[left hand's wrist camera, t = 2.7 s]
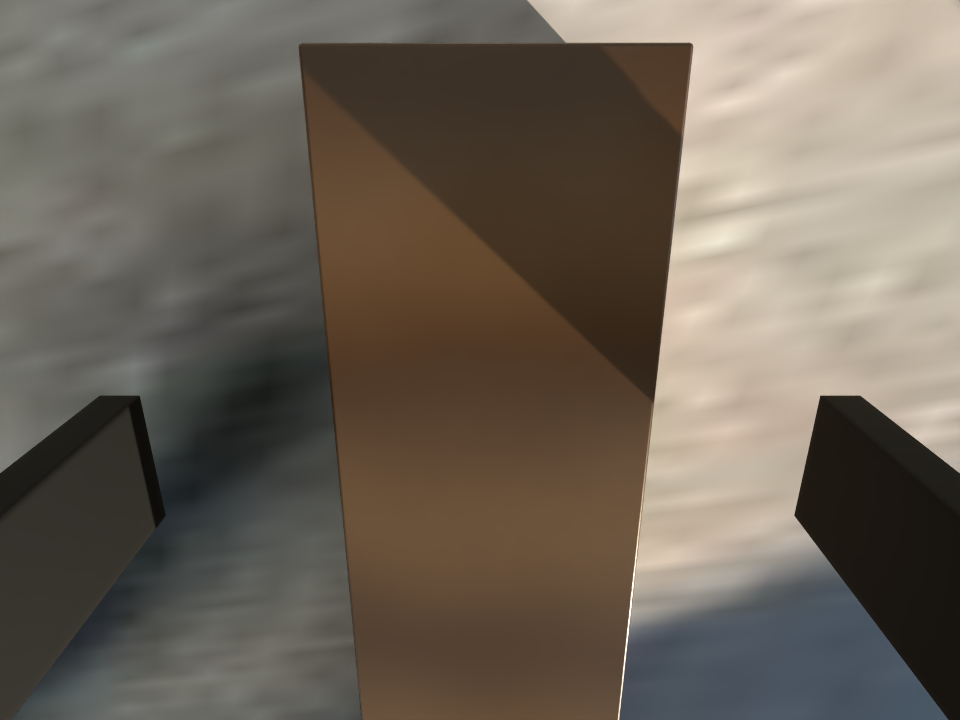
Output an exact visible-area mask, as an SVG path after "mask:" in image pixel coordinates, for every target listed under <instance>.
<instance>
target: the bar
mask: <svg viewBox="0 0 960 720" xmlns="http://www.w3.org/2000/svg"><path fill="white" fill-rule="evenodd" d="M692 54H693V45H692V44H691V43H302V44H300V45H299V56H300V67H301V78H302V88H303V99H304V110H305V120H306V131H307V142H308V152H309V163H310V174H311V184H312V195H313V206H314V216H315V227H316V238H317V248H318V259H319V270H320V281H321V291H322V302H323V313H324V323H325V334H326V345H327V355H328V366H329V377H330V387H331V398H332V409H333V419H334V430H335V441H336V451H337V462H338V473H339V483H340V494H341V505H342V515H343V526H344V537H345V548H346V558H347V569H348V580H349V590H350V601H351V612H352V622H353V633H354V644H355V654H356V665H357V676H358V686H359V697H360V708H361V718H362V720H619V717H620V707H621V698H622V689H623V680H624V671H625V662H626V653H627V644H628V635H629V626H630V617H631V608H632V599H633V589H634V580H635V571H636V562H637V553H638V544H639V535H640V526H641V517H642V508H643V499H644V490H645V481H646V471H647V462H648V453H649V444H650V435H651V426H652V417H653V408H654V399H655V390H656V381H657V372H658V363H659V353H660V344H661V335H662V326H663V317H664V308H665V299H666V290H667V281H668V272H669V263H670V254H671V245H672V235H673V226H674V217H675V208H676V199H677V190H678V181H679V172H680V163H681V154H682V145H683V136H684V127H685V117H686V108H687V99H688V90H689V81H690V72H691V63H692Z"/></svg>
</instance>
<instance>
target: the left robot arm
mask: <svg viewBox="0 0 960 720" xmlns="http://www.w3.org/2000/svg"><path fill="white" fill-rule="evenodd" d="M165 516H166V515H165V510H164V506H163V501H162V497H161V492H160V487H159V483H158V478H157V474H156V469H155V464H154V460H153V455H152V451H151V446H150V441H149V437H148V432H147V428H146V423H145V418H144V414H143V409H142V405H141V400H140V396H99V397H98V398H96V399H95V400H94V401H93V402H91V403H90V404H89V405H87V406H86V407H85V408H84V409H82V410H81V411H80V412H78V413H77V414H76V415H75V416H73V417H72V418H71V419H69V420H68V421H67V422H66V423H64V424H63V425H62V426H60V427H59V428H58V429H57V430H55V431H54V432H53V433H51V434H50V435H49V436H48V437H46V438H45V439H44V440H42V441H41V442H40V443H39V444H37V445H36V446H35V447H34V448H32V449H31V450H30V451H28V452H27V453H26V454H25V455H23V456H22V457H21V458H19V459H18V460H17V461H16V462H14V463H13V464H12V465H10V466H9V467H8V468H7V469H5V470H4V471H3V472H1V473H0V720H12V718H13V717H14V716H15V714H16V713H17V712H18V710H19V709H20V708H21V706H22V705H23V704H24V702H25V701H26V700H27V698H28V697H29V696H30V694H31V693H32V692H33V690H34V689H35V688H36V686H37V685H38V684H39V682H40V681H41V680H42V678H43V677H44V676H45V675H46V673H47V672H48V671H49V669H50V668H51V667H52V665H53V664H54V663H55V661H56V660H57V659H58V657H59V656H60V655H61V653H62V652H63V651H64V649H65V648H66V647H67V645H68V644H69V643H70V641H71V640H72V639H73V637H74V636H75V635H76V633H77V632H78V631H79V630H80V628H81V627H82V626H83V624H84V623H85V622H86V620H87V619H88V618H89V616H90V615H91V614H92V612H93V611H94V610H95V608H96V607H97V606H98V604H99V603H100V602H101V600H102V599H103V598H104V596H105V595H106V594H107V592H108V591H109V590H110V588H111V587H112V586H113V585H114V583H115V582H116V581H117V579H118V578H119V577H120V575H121V574H122V573H123V571H124V570H125V569H126V567H127V566H128V565H129V563H130V562H131V561H132V559H133V558H134V557H135V555H136V554H137V553H138V551H139V550H140V549H141V547H142V546H143V545H144V543H145V542H146V541H147V539H148V538H149V537H150V536H151V534H152V533H153V532H154V530H155V529H156V528H157V526H158V525H159V524H160V522H161V521H162V520H163V518H164V517H165ZM794 516H795V517H796V518H797V520H798V521H799V522H800V524H801V525H802V526H803V528H804V529H805V530H806V532H807V533H808V534H809V536H810V537H811V538H812V539H813V541H814V542H815V543H816V545H817V546H818V547H819V549H820V550H821V551H822V553H823V554H824V555H825V557H826V558H827V559H828V561H829V562H830V563H831V565H832V566H833V567H834V569H835V570H836V571H837V573H838V574H839V575H840V577H841V578H842V579H843V581H844V582H845V583H846V585H847V586H848V587H849V588H850V590H851V591H852V592H853V594H854V595H855V596H856V598H857V599H858V600H859V602H860V603H861V604H862V606H863V607H864V608H865V610H866V611H867V612H868V614H869V615H870V616H871V618H872V619H873V620H874V622H875V623H876V624H877V626H878V627H879V628H880V630H881V631H882V632H883V633H884V635H885V636H886V637H887V639H888V640H889V641H890V643H891V644H892V645H893V647H894V648H895V649H896V651H897V652H898V653H899V655H900V656H901V657H902V659H903V660H904V661H905V663H906V664H907V665H908V667H909V668H910V669H911V671H912V672H913V673H914V675H915V676H916V677H917V678H918V680H919V681H920V682H921V684H922V685H923V686H924V688H925V689H926V690H927V692H928V693H929V694H930V696H931V697H932V698H933V700H934V701H935V702H936V704H937V705H938V706H939V708H940V709H941V710H942V712H943V713H944V714H945V716H946V717H947V718H948V720H960V473H959V472H957V471H956V470H955V469H953V468H952V467H951V466H950V465H948V464H947V463H946V462H944V461H943V460H942V459H941V458H939V457H938V456H937V455H935V454H934V453H933V452H932V451H930V450H929V449H928V448H926V447H925V446H924V445H923V444H921V443H920V442H919V441H918V440H916V439H915V438H914V437H912V436H911V435H910V434H909V433H907V432H906V431H905V430H903V429H902V428H901V427H900V426H898V425H897V424H896V423H894V422H893V421H892V420H891V419H889V418H888V417H887V416H885V415H884V414H883V413H882V412H880V411H879V410H878V409H876V408H875V407H874V406H873V405H871V404H870V403H869V402H867V401H866V400H865V399H864V398H862V397H861V396H820V400H819V405H818V409H817V414H816V418H815V423H814V428H813V432H812V437H811V441H810V446H809V451H808V455H807V460H806V464H805V469H804V474H803V478H802V483H801V487H800V492H799V497H798V501H797V506H796V510H795V515H794Z"/></svg>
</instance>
